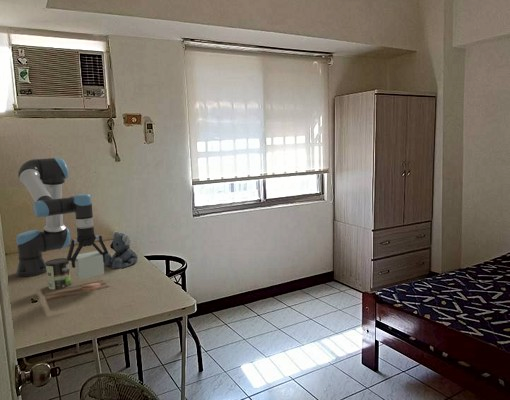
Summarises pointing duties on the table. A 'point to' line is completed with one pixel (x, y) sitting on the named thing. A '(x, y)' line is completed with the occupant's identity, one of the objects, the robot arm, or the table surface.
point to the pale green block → (89, 264)
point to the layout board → (75, 290)
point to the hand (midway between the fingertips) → (89, 271)
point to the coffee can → (58, 273)
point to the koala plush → (120, 252)
